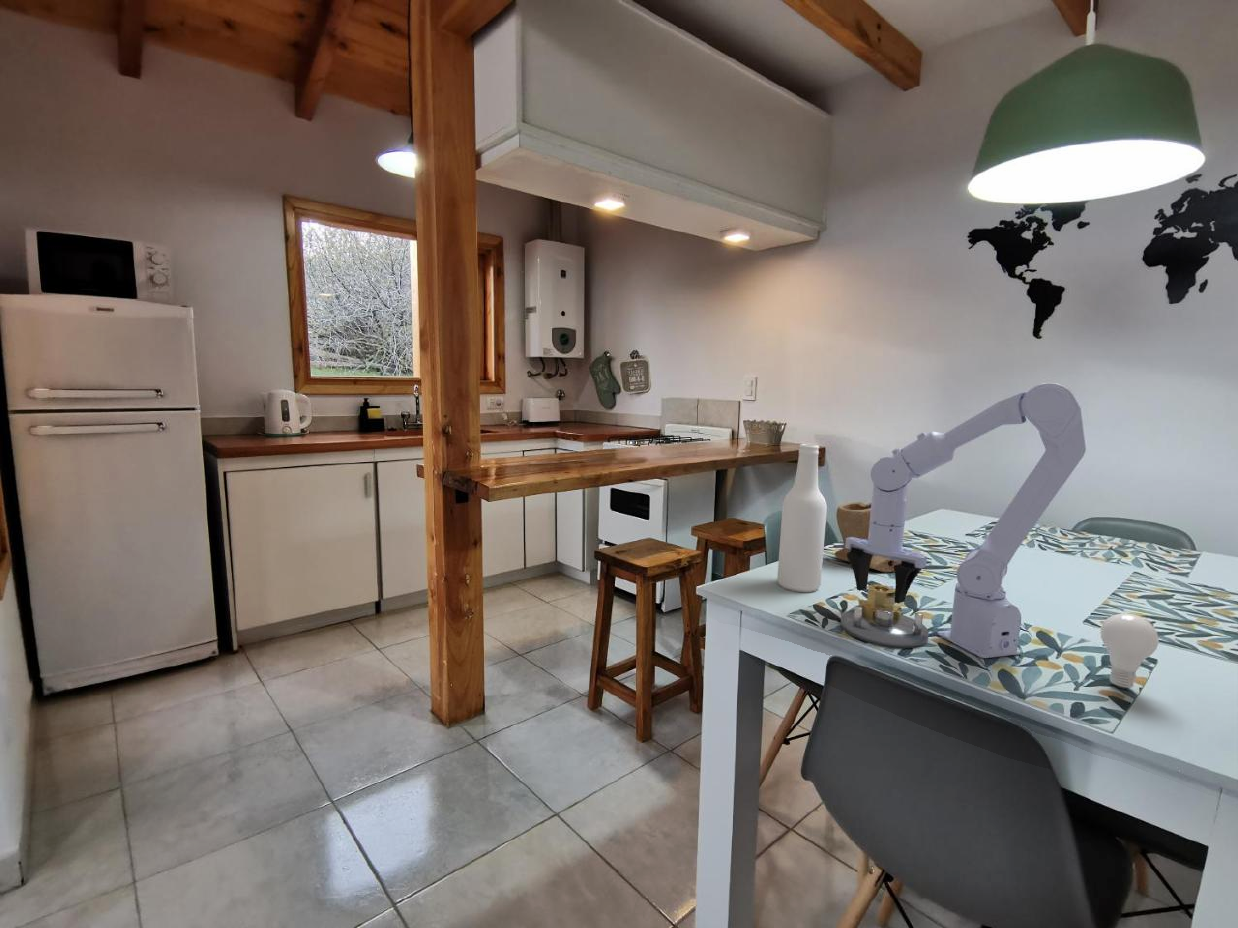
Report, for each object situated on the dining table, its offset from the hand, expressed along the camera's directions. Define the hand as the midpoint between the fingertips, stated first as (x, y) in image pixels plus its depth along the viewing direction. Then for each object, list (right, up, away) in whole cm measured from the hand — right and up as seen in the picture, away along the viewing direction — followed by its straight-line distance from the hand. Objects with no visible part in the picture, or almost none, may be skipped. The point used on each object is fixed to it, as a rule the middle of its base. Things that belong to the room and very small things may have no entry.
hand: (879, 595), depth 110 cm
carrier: (-1, -5, -5) cm, 7 cm away
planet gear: (0, -3, +1) cm, 3 cm away
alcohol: (-10, -2, +17) cm, 20 cm away
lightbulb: (+25, -9, -22) cm, 35 cm away
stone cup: (+11, 0, +33) cm, 35 cm away
